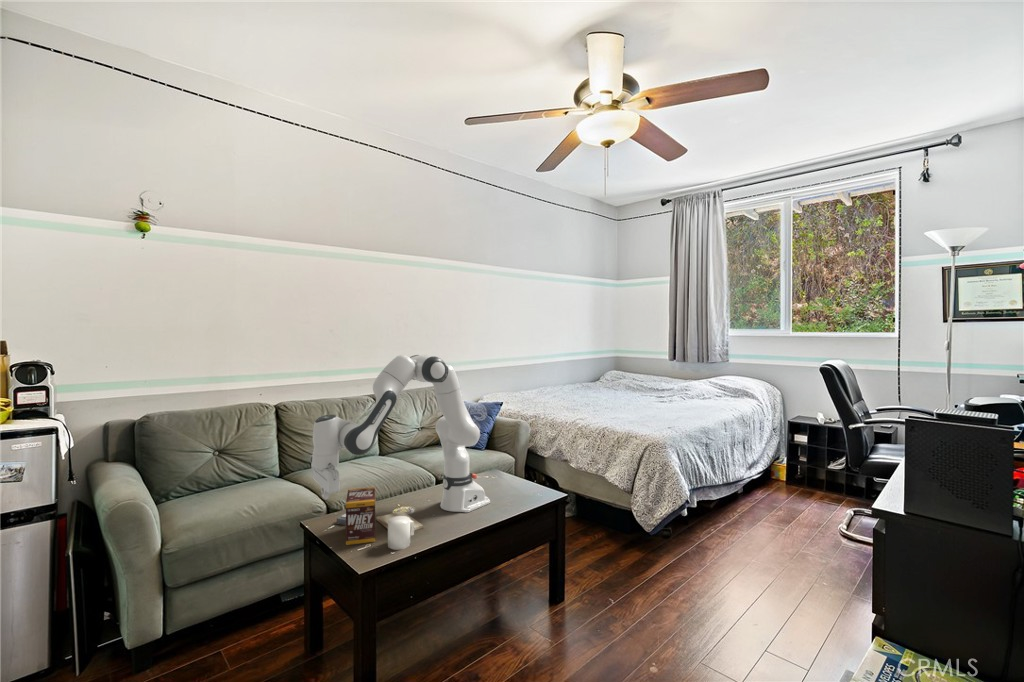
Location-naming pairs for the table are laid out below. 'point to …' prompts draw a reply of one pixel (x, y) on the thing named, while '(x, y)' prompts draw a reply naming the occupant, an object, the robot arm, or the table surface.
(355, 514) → the supplement box
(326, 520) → the table surface
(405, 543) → the white mug
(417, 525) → the beige paperback book
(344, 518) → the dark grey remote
